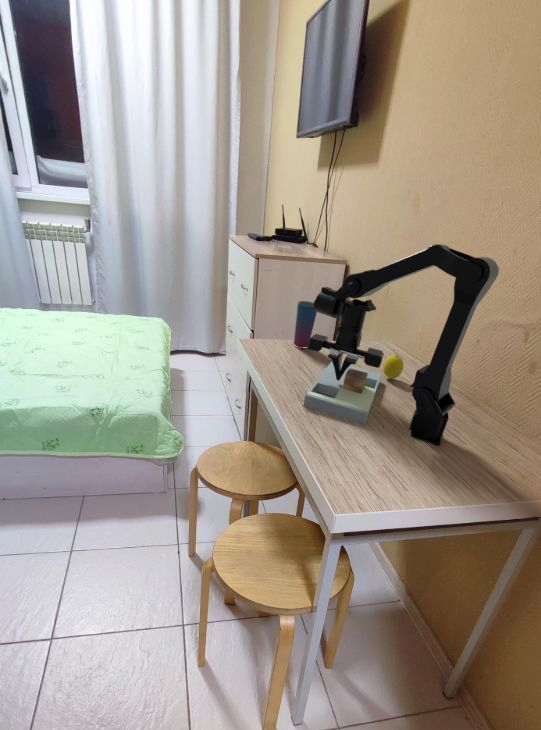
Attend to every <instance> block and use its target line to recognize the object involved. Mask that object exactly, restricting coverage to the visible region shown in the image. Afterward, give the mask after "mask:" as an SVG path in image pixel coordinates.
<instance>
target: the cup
mask: <svg viewBox="0 0 541 730" xmlns="http://www.w3.org/2000/svg"><path fill="white" fill-rule="evenodd" d="M296 307H297V308H296V317H295V318H296V319H295V329H294V340H293V345H294V344H295V345H296V346H298V347H307V345H308V341H309V339H310V338H311V337H312V334H313V329H314V325H315V323H316V321H315V320H316V317H317V313H318V312H316V311H315V310H314V301H308V300H299V301H297V306H296Z"/></svg>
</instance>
